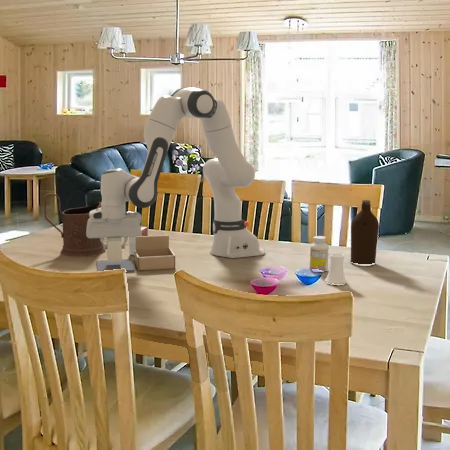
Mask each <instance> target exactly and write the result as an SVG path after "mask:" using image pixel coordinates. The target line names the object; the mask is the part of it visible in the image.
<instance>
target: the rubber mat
mask: <svg viewBox="0 0 450 450" xmlns="http://www.w3.org/2000/svg"><path fill="white" fill-rule="evenodd" d="M121 268H125V269H126V271H127V272H126V273H135V268H134V265H133V263H132V259H131V258H127V259H125V258H124V259H123V258H122V261H120V262H108V259H106V260H105V259H104V260H96V269H97V272H98V271H104V270H113V269H121Z"/></svg>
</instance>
